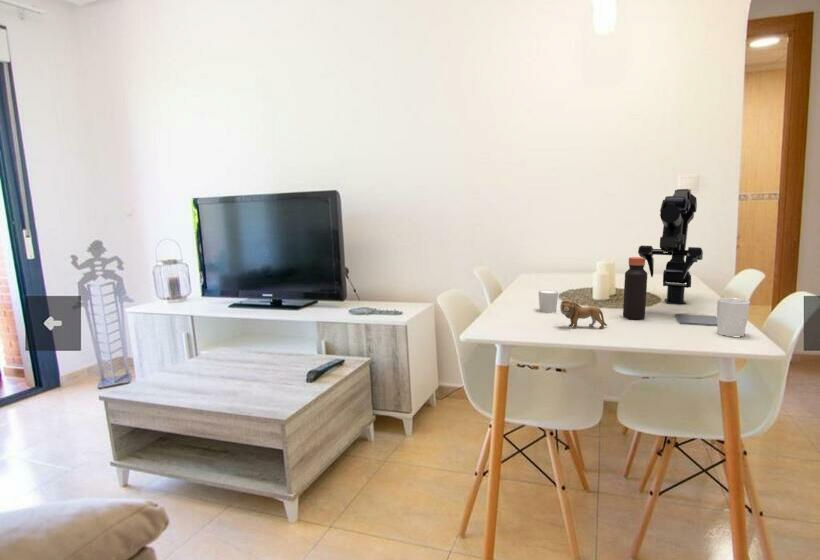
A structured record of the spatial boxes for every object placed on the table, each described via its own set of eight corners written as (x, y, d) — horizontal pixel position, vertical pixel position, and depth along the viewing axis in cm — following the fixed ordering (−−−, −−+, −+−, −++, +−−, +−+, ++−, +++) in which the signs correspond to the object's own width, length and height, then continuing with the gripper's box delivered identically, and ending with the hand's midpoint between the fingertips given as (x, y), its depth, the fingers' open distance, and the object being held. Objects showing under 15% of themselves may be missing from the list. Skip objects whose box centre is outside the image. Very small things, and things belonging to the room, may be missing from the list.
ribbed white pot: (538, 312, 179) (538, 293, 178) (537, 308, 185) (538, 289, 184) (558, 313, 177) (558, 293, 176) (557, 309, 184) (558, 290, 183)
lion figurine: (562, 330, 155) (563, 301, 154) (557, 325, 161) (558, 297, 159) (610, 329, 155) (611, 300, 154) (603, 324, 161) (605, 297, 159)
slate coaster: (674, 315, 171) (674, 313, 171) (715, 317, 167) (715, 315, 167) (679, 323, 160) (679, 322, 160) (723, 326, 156) (723, 324, 155)
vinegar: (621, 314, 173) (624, 256, 170) (643, 315, 171) (647, 257, 168) (623, 319, 167) (626, 259, 163) (646, 320, 165) (649, 259, 161)
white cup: (715, 336, 146) (718, 302, 144) (714, 329, 153) (716, 297, 151) (748, 339, 142) (751, 304, 140) (745, 332, 149) (748, 299, 147)
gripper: (638, 224, 168) (632, 270, 166) (703, 225, 157) (698, 274, 155) (643, 234, 177) (638, 277, 175) (704, 235, 167) (700, 281, 164)
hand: (667, 277), depth 167 cm, fingers open, 9 cm apart
